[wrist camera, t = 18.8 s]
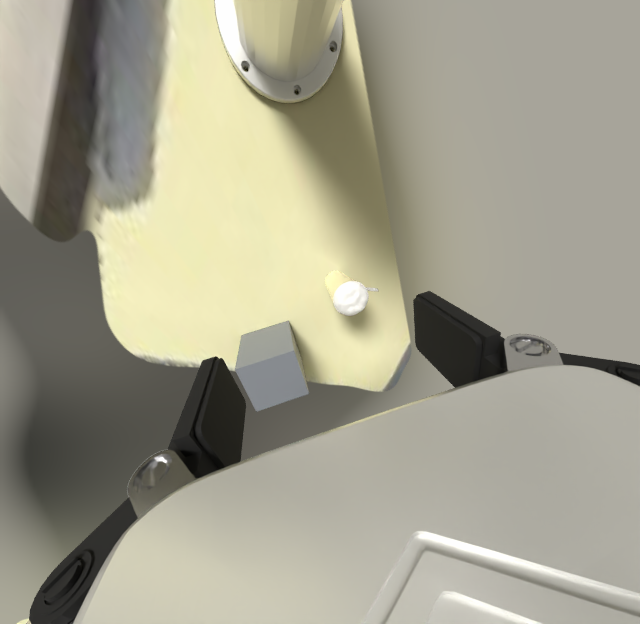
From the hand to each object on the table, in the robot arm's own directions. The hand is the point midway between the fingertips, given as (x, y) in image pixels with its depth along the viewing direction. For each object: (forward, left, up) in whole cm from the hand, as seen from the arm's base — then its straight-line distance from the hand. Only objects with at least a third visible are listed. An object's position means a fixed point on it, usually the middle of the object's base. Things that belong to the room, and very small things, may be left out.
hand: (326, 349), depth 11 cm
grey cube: (+14, -7, -26) cm, 30 cm away
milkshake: (+6, +6, -26) cm, 27 cm away
